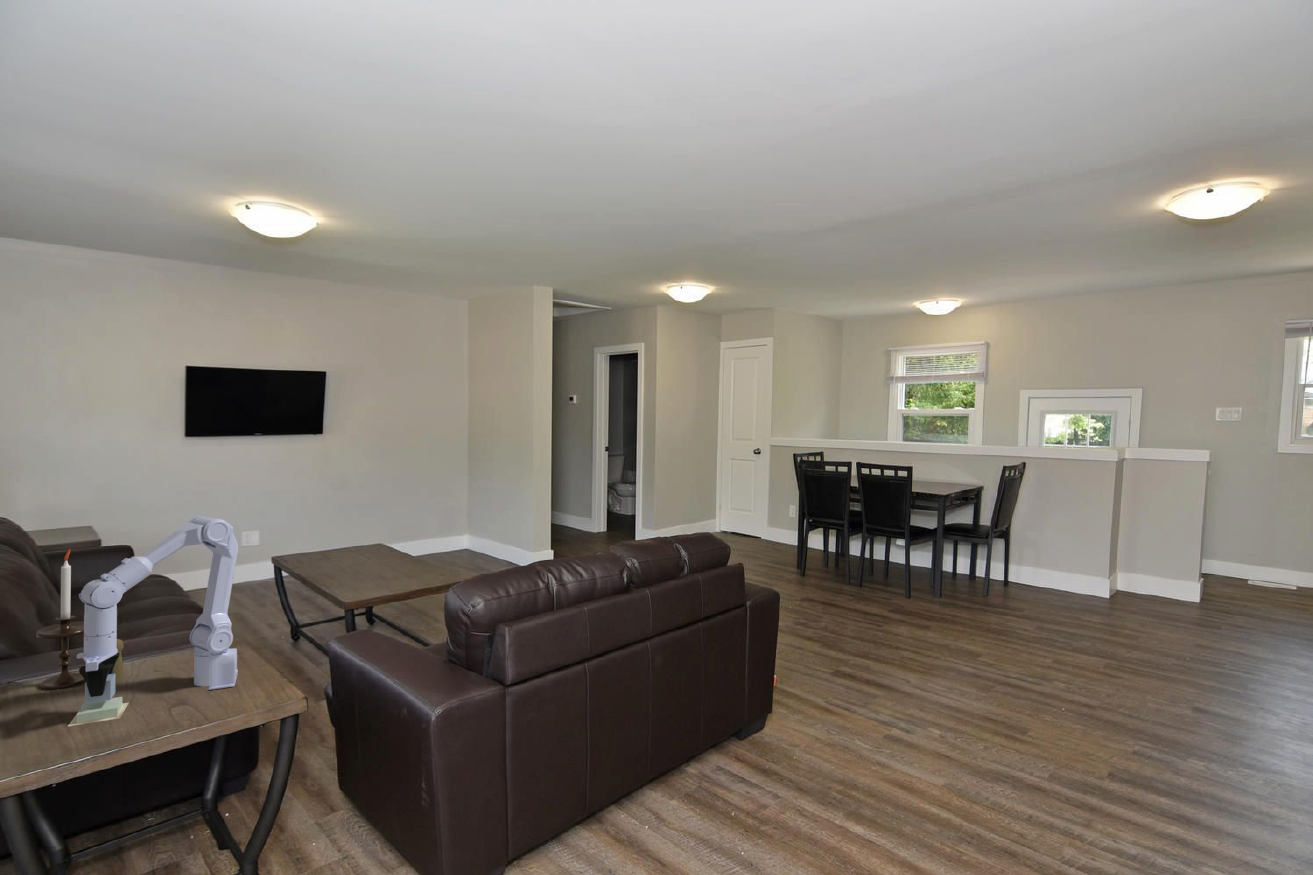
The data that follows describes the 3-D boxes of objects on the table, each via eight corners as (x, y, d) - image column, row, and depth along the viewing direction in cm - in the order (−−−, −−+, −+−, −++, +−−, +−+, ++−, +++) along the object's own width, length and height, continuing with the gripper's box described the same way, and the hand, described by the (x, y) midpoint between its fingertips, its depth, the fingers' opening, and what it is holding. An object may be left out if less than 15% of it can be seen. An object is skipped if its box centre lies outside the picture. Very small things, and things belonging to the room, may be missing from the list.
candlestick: (98, 672, 174) (99, 543, 174) (84, 687, 165) (86, 551, 164) (45, 678, 170) (46, 546, 169) (28, 694, 160) (29, 554, 159)
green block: (122, 704, 153) (122, 696, 153) (117, 716, 147) (117, 707, 147) (83, 711, 149) (83, 702, 149) (76, 723, 143) (76, 714, 143)
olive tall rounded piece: (129, 680, 170) (129, 639, 169) (100, 688, 164) (100, 645, 164) (120, 675, 173) (120, 634, 173) (91, 682, 168) (91, 640, 167)
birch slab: (128, 710, 154) (128, 702, 154) (119, 726, 146) (119, 717, 146) (79, 718, 150) (79, 709, 150) (67, 735, 142) (67, 726, 142)
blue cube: (115, 692, 151) (115, 673, 151) (110, 699, 147) (110, 680, 147) (90, 695, 149) (90, 676, 149) (84, 703, 145) (84, 683, 145)
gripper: (86, 625, 152) (86, 682, 152) (67, 645, 140) (67, 707, 140) (124, 622, 156) (124, 677, 156) (109, 640, 143) (108, 701, 143)
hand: (99, 691), depth 148 cm, fingers closed on blue cube, 4 cm apart
